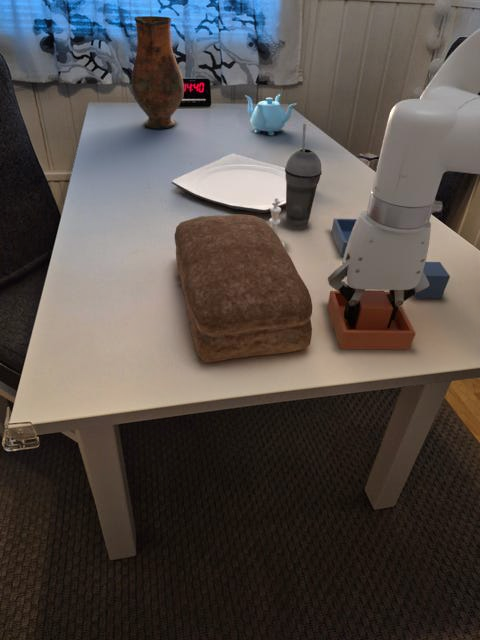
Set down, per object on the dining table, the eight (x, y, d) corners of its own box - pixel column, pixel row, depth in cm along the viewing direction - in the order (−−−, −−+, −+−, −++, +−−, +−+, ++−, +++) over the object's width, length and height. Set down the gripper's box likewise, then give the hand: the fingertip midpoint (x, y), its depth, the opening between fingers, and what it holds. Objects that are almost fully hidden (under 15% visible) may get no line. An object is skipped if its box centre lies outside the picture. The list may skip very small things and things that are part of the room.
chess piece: (254, 247, 86) (257, 197, 80) (271, 239, 89) (275, 190, 83) (273, 256, 83) (278, 206, 77) (290, 248, 86) (295, 199, 80)
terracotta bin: (389, 307, 72) (394, 291, 70) (409, 349, 64) (415, 333, 62) (327, 306, 72) (330, 290, 70) (339, 348, 64) (343, 332, 62)
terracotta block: (377, 314, 69) (384, 290, 66) (385, 332, 66) (393, 308, 63) (348, 313, 69) (354, 289, 66) (355, 332, 66) (361, 307, 63)
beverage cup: (295, 236, 90) (307, 133, 78) (272, 222, 95) (281, 123, 82) (320, 227, 94) (337, 127, 81) (297, 214, 98) (309, 118, 86)
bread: (262, 251, 85) (266, 194, 78) (315, 355, 62) (328, 288, 55) (172, 258, 81) (168, 199, 74) (194, 370, 59) (192, 301, 52)
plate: (324, 185, 112) (325, 175, 111) (266, 226, 93) (267, 214, 92) (231, 160, 124) (231, 151, 122) (162, 192, 105) (162, 181, 103)
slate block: (431, 283, 78) (439, 261, 75) (441, 298, 75) (450, 276, 72) (406, 283, 78) (413, 261, 75) (415, 298, 74) (423, 275, 72)
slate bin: (379, 233, 93) (383, 219, 91) (394, 258, 85) (398, 243, 83) (331, 232, 92) (333, 218, 90) (341, 257, 84) (344, 242, 82)
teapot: (243, 126, 151) (244, 94, 145) (279, 124, 155) (281, 92, 149) (256, 137, 142) (257, 103, 136) (294, 135, 145) (297, 101, 139)
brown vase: (130, 130, 143) (117, 18, 124) (143, 113, 160) (134, 12, 141) (181, 133, 143) (177, 21, 124) (189, 115, 160) (186, 15, 141)
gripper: (452, 199, 59) (413, 308, 71) (326, 195, 59) (308, 306, 70) (477, 224, 53) (430, 339, 65) (338, 220, 53) (315, 337, 64)
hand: (367, 321), depth 67 cm, fingers closed on terracotta block, 4 cm apart
